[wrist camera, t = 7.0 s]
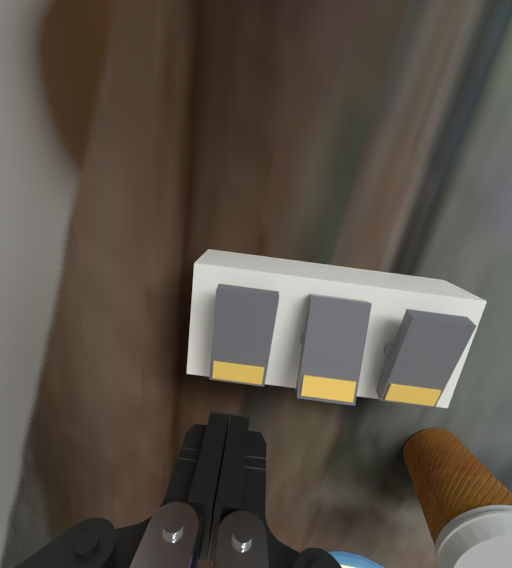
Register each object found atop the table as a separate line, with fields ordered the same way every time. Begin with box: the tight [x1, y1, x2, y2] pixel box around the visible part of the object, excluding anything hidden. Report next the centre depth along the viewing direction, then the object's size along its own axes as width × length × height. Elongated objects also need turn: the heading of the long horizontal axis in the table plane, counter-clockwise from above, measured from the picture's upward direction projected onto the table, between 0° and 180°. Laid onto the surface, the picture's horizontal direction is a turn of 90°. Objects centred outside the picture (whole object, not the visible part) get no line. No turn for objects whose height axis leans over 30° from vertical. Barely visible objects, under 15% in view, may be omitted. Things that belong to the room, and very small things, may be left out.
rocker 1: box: [209, 284, 279, 387], centre depth 24 cm, size 8×4×1 cm, turn 173°
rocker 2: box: [295, 294, 372, 406], centre depth 24 cm, size 8×4×1 cm, turn 172°
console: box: [187, 249, 487, 408], centre depth 28 cm, size 10×23×7 cm, turn 83°
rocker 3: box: [376, 309, 476, 408], centre depth 24 cm, size 8×4×1 cm, turn 173°
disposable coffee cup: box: [403, 428, 512, 568], centre depth 30 cm, size 10×10×12 cm
